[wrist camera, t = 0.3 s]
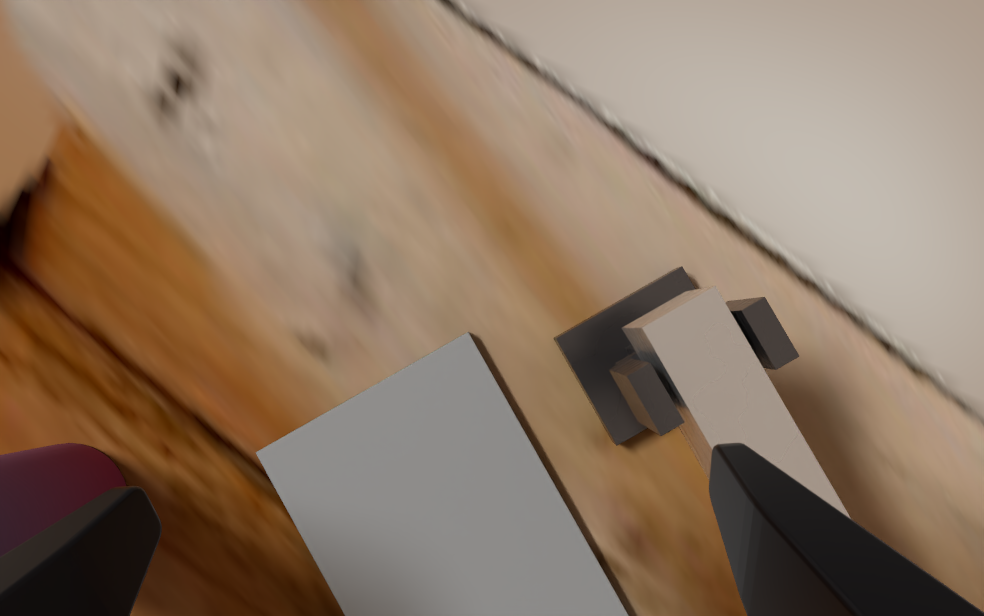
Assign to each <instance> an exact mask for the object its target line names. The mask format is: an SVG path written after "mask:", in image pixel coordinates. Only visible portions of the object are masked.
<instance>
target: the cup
mask: <svg viewBox="0 0 984 616" xmlns="http://www.w3.org/2000/svg"><path fill="white" fill-rule="evenodd" d="M123 486H126V483H125V480H124V478H123V476H122V474H121V472H120V470H119V469H118V468H117V466H116V465H115V464H114V462H113V461H112V460H111V459H109V458H108V457H107V456H106V455H105V454H103V453H102V452H100V451H98V450H96V449H94V448H92V447H89V446H86V445H82V444H74V443H66V444H57V445H52V446H46V447H41V448H36V449H31V450H25V451H20V452H15V453H9V454H4V455H0V557H1V556H3V555H4V554H6V553H8V552H9V551H11V550H12V549H14V548H16V547H17V546H19V545H20V544H22V543H24V542H25V541H27V540H28V539H30V538H32V537H33V536H35V535H36V534H38V533H40V532H41V531H43V530H45V529H46V528H48V527H49V526H51V525H53V524H54V523H56V522H57V521H59V520H61V519H62V518H64V517H65V516H67V515H69V514H70V513H72V512H74V511H75V510H77V509H78V508H80V507H82V506H83V505H85V504H86V503H88V502H90V501H91V500H93V499H94V498H96V497H98V496H99V495H101V494H103V493H104V492H106V491H107V490H109V489H111V488H115V487H123Z"/></svg>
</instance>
